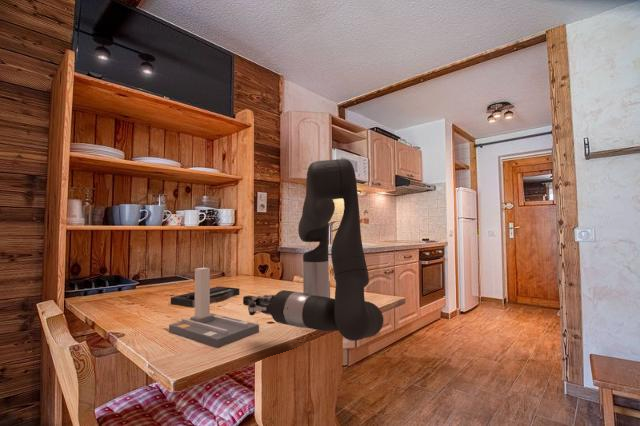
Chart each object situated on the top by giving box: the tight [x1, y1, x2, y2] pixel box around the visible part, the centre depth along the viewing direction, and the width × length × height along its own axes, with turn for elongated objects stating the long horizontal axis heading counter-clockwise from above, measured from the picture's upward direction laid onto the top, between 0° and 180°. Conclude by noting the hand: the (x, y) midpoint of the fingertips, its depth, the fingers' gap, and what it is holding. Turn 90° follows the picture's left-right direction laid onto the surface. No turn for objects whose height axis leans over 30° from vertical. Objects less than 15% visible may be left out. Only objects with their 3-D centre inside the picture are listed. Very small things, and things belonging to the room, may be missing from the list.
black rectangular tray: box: [170, 286, 240, 309], centre depth 128 cm, size 25×4×20 cm
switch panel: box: [168, 312, 260, 349], centre depth 88 cm, size 14×22×3 cm, turn 55°
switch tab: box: [190, 267, 214, 323], centre depth 91 cm, size 5×4×16 cm
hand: (245, 299), depth 81 cm, fingers closed
